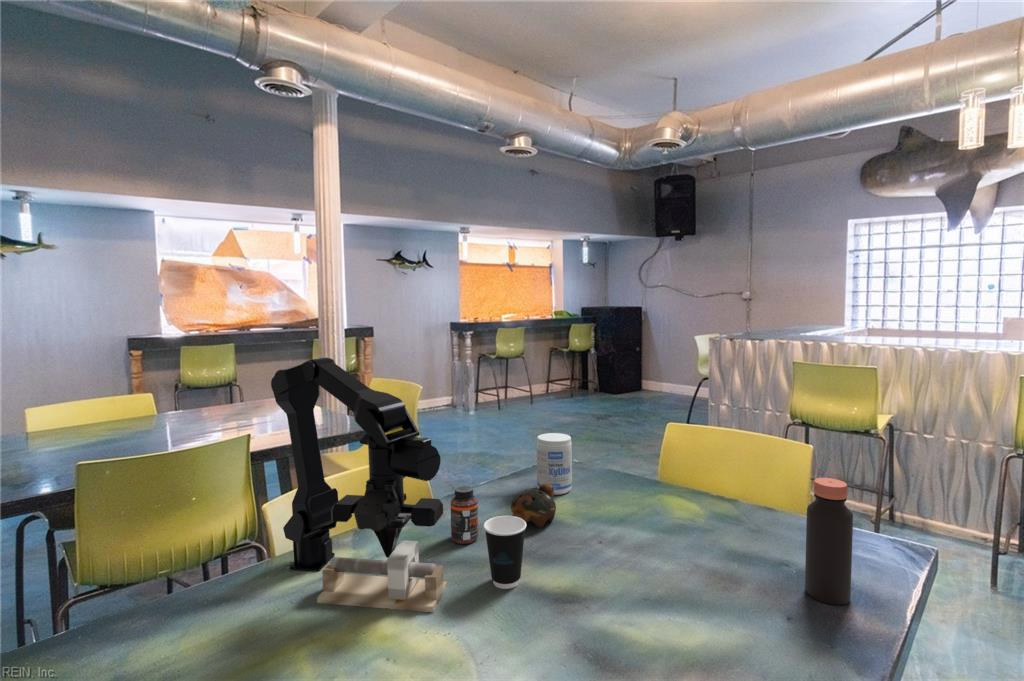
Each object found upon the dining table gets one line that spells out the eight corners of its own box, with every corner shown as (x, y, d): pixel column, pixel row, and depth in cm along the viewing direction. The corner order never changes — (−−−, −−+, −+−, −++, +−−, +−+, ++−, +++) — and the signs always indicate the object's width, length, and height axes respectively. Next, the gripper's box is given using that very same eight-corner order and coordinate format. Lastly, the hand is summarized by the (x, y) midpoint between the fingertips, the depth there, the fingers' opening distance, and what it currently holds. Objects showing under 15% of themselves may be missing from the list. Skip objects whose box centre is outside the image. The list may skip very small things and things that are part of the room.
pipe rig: (317, 602, 91) (315, 568, 90) (339, 578, 99) (338, 546, 98) (433, 612, 87) (432, 576, 87) (446, 586, 95) (445, 553, 95)
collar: (388, 598, 89) (387, 559, 88) (403, 577, 96) (402, 540, 95) (405, 599, 89) (403, 560, 88) (419, 578, 95) (417, 541, 95)
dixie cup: (515, 566, 102) (514, 512, 101) (535, 586, 95) (534, 528, 94) (478, 577, 98) (476, 520, 97) (495, 598, 91) (494, 537, 90)
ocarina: (566, 514, 126) (567, 483, 125) (535, 544, 113) (535, 509, 112) (532, 505, 131) (531, 475, 130) (498, 532, 118) (498, 499, 117)
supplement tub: (552, 498, 136) (551, 443, 135) (529, 488, 144) (529, 436, 143) (579, 490, 142) (578, 437, 141) (556, 480, 149) (556, 430, 148)
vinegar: (835, 610, 86) (838, 492, 84) (796, 590, 92) (798, 479, 90) (859, 599, 89) (862, 484, 87) (820, 580, 95) (822, 473, 93)
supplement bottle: (474, 546, 111) (473, 494, 110) (447, 544, 112) (446, 492, 111) (481, 533, 116) (480, 484, 116) (456, 532, 118) (454, 483, 117)
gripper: (311, 484, 85) (316, 577, 86) (421, 489, 81) (425, 585, 83) (344, 463, 96) (348, 545, 97) (442, 466, 92) (445, 551, 94)
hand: (389, 556), depth 92 cm, fingers closed
